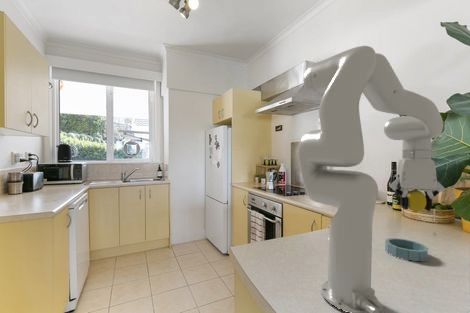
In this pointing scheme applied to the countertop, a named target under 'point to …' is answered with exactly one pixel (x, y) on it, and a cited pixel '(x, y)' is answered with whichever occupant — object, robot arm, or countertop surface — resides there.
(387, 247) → the bowl
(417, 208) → the lemon
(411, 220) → the countertop surface
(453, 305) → the countertop surface
